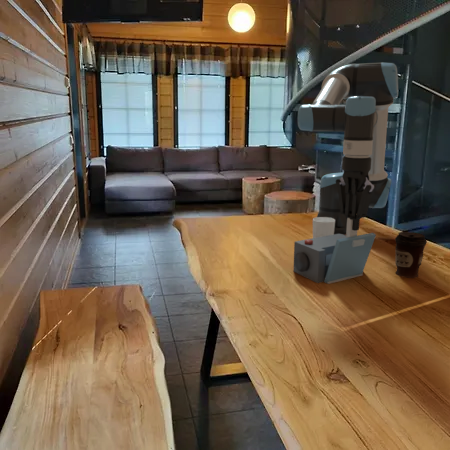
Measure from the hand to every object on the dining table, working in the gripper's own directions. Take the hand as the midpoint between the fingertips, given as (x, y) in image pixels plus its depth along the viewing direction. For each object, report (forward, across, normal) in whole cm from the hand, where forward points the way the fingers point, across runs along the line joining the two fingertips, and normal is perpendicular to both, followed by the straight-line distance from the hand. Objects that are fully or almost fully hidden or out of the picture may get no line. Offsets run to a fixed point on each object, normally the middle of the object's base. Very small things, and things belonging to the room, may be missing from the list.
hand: (351, 240), depth 130 cm
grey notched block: (+13, -9, 0) cm, 15 cm away
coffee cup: (+13, +5, +19) cm, 23 cm away
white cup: (+13, -31, +17) cm, 38 cm away
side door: (+12, -2, 0) cm, 12 cm away
